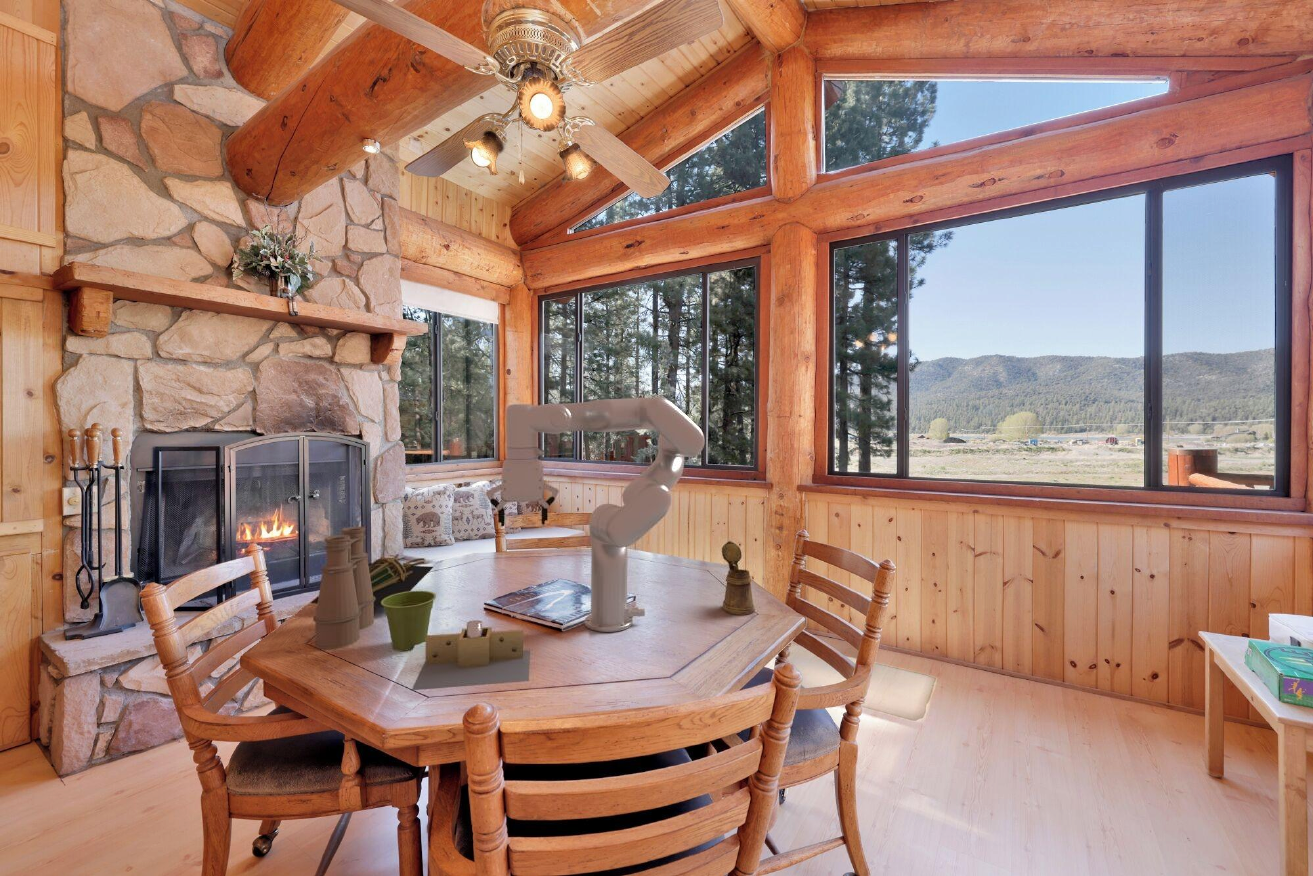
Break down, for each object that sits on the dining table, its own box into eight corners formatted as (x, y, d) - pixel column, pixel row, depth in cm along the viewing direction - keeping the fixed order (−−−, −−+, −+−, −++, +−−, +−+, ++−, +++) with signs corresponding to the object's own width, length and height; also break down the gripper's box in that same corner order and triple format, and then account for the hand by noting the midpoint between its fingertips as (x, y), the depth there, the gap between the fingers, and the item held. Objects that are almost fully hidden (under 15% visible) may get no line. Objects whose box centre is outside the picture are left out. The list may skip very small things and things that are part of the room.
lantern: (312, 626, 152) (372, 569, 180) (394, 636, 151) (441, 577, 180) (308, 583, 148) (370, 531, 176) (392, 593, 147) (441, 540, 176)
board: (530, 655, 126) (530, 650, 126) (528, 686, 111) (528, 680, 111) (427, 662, 121) (427, 657, 121) (411, 696, 106) (411, 690, 106)
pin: (480, 656, 122) (481, 619, 122) (482, 661, 119) (483, 623, 119) (465, 658, 121) (466, 621, 121) (466, 663, 118) (467, 625, 118)
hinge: (523, 651, 125) (523, 625, 125) (522, 663, 119) (523, 635, 119) (428, 657, 121) (428, 630, 121) (422, 670, 115) (422, 641, 115)
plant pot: (396, 635, 136) (396, 590, 136) (444, 636, 136) (444, 591, 136) (370, 655, 124) (370, 606, 124) (422, 657, 124) (422, 607, 124)
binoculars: (352, 648, 128) (352, 541, 127) (305, 650, 126) (305, 542, 126) (380, 617, 148) (380, 524, 148) (340, 618, 147) (340, 525, 146)
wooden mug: (742, 599, 168) (743, 540, 168) (759, 614, 155) (760, 550, 154) (714, 600, 166) (715, 541, 166) (728, 616, 153) (729, 551, 153)
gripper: (557, 453, 140) (558, 520, 141) (486, 454, 136) (487, 523, 137) (559, 455, 133) (559, 526, 134) (484, 456, 129) (485, 529, 130)
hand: (523, 524), depth 135 cm, fingers open, 9 cm apart
